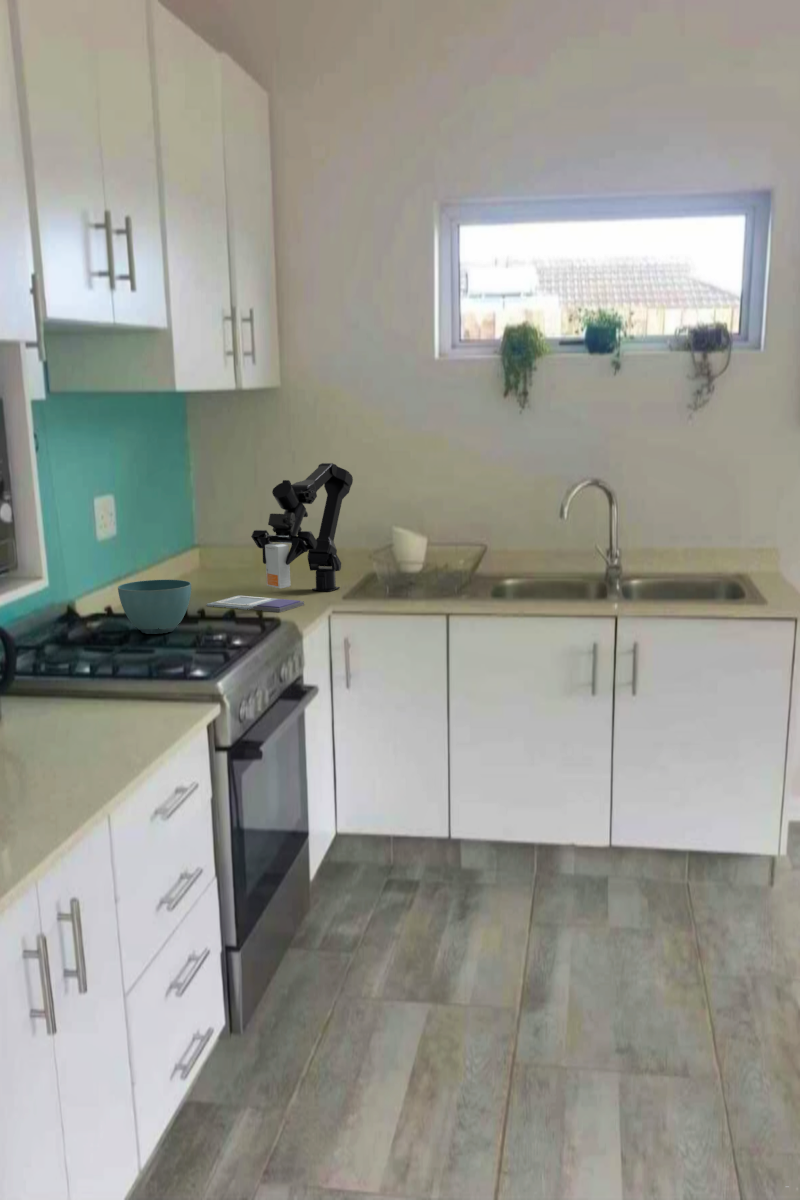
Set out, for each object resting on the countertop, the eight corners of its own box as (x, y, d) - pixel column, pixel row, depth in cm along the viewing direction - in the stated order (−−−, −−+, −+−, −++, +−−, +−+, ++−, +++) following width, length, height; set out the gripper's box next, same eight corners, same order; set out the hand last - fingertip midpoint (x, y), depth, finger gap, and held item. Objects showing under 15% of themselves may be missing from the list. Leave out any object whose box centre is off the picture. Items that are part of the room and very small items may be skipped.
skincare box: (266, 586, 296) (264, 544, 293) (278, 584, 299) (276, 543, 296) (279, 588, 291) (277, 546, 289) (291, 586, 294) (289, 544, 292)
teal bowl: (134, 624, 276) (130, 579, 273) (201, 624, 274) (198, 578, 272) (111, 639, 258) (107, 591, 256) (183, 639, 257) (180, 590, 254)
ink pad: (278, 602, 303) (278, 598, 303) (304, 604, 299) (303, 600, 299) (253, 609, 293) (253, 605, 293) (279, 612, 289) (279, 607, 288)
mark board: (238, 597, 313) (238, 594, 313) (279, 600, 306) (279, 597, 306) (206, 605, 300) (206, 602, 300) (248, 609, 293) (248, 606, 293)
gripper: (252, 501, 297) (234, 545, 290) (310, 502, 291) (294, 547, 283) (267, 525, 306) (250, 568, 298) (324, 527, 299) (308, 571, 291)
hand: (275, 563), depth 292 cm, fingers closed on skincare box, 7 cm apart
